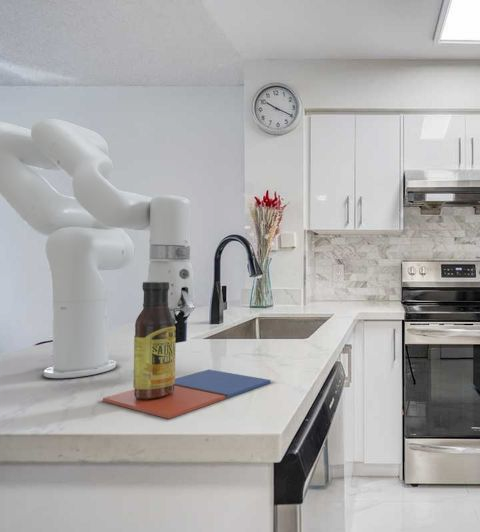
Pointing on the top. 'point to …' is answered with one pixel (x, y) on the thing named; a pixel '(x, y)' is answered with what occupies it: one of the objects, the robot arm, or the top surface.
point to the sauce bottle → (154, 344)
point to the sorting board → (190, 393)
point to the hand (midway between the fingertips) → (168, 339)
